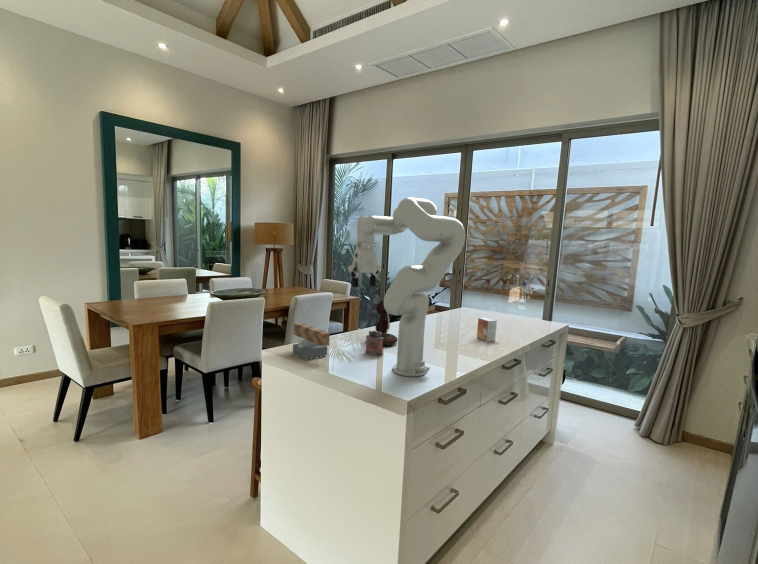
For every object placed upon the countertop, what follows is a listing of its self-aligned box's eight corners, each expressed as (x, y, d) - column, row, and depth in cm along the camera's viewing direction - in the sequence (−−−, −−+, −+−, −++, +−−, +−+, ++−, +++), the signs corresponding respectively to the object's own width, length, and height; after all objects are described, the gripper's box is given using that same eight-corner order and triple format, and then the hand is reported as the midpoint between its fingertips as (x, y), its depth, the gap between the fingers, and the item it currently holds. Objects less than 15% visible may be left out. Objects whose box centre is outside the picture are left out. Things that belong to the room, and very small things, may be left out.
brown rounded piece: (395, 348, 178) (397, 304, 175) (363, 345, 180) (365, 302, 178) (398, 340, 192) (401, 299, 190) (369, 337, 194) (370, 297, 192)
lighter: (363, 353, 168) (364, 330, 167) (367, 351, 171) (368, 328, 170) (380, 356, 164) (381, 333, 163) (384, 354, 167) (385, 331, 166)
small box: (476, 337, 205) (477, 317, 203) (485, 336, 207) (486, 317, 206) (486, 341, 197) (488, 320, 196) (495, 340, 200) (497, 320, 199)
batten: (329, 345, 155) (329, 332, 154) (322, 346, 152) (323, 333, 152) (299, 333, 170) (299, 322, 170) (293, 334, 168) (293, 323, 168)
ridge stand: (326, 355, 162) (327, 340, 161) (306, 360, 155) (306, 344, 154) (313, 350, 169) (313, 335, 169) (292, 354, 162) (293, 338, 162)
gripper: (355, 246, 157) (353, 288, 159) (386, 247, 169) (384, 286, 171) (343, 245, 163) (342, 286, 164) (374, 246, 174) (373, 284, 176)
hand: (363, 286), depth 168 cm, fingers open, 9 cm apart
